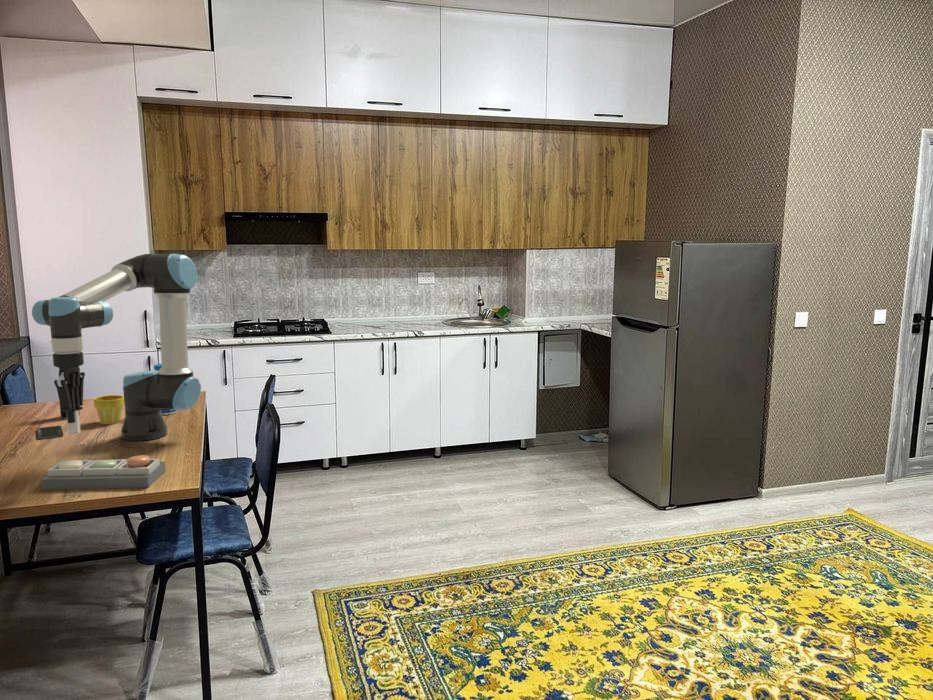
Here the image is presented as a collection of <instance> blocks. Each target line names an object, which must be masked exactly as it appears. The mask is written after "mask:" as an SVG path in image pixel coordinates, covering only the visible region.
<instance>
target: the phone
mask: <svg viewBox="0 0 933 700" xmlns="http://www.w3.org/2000/svg"><path fill="white" fill-rule="evenodd" d="M36 432H37V433H36V434H37V440H41V441H42V440H49V439H55V438H56V439H57V437H58V438H62V437H64V432H63V427H62V425H52V426H45V427H38V428H37V429H36Z"/></svg>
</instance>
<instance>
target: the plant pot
mask: <svg viewBox="0 0 933 700" xmlns="http://www.w3.org/2000/svg"><path fill="white" fill-rule="evenodd" d="M93 406H94V408H95V409H96V412H97V415H98V419H99V421H100V424H101V425H115V424H118V423H120V422H121V418H122V417H121V416H122V411H123V406H125V404H124V395H120V394H108V395H107V394H106V395H100V396H96V397H94V399H93Z"/></svg>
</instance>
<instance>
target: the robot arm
mask: <svg viewBox="0 0 933 700" xmlns="http://www.w3.org/2000/svg"><path fill="white" fill-rule="evenodd" d="M197 281H198V271H197V268H196V265H195V263H194V261H192V259H191V258H190V257H188V256H187V255H185V254H181V253H180V254H179V253H144V254H139V255H136V256H134V257H131V258H129V259H125V260H124V261H122V262H120V263H117V264H115V265H114V266H113V267H112V268H111V270H110V271H109V272H106V273H104V274H103V275H100V276H98V277H96V278H94V279H92V280H90V281H88V282H87V283H84V284H82V285H80V286H78V287H76V288H74V289H72V290H70V291H68V292H66V293H64V294H61V295H60V296H58V297H57V296H56V297H52V298H50V299H44V300H38V301H37V302H35V303H34V304H33V306H32V309H31V315H32V318H33V319H32V320H34V321H35V323H37V324H38V325H41V326H48V327H50V337H51V340H50V344H51V348H52V352H54V353H53V354H52V363H53V367H56V368H58V369H59V370H58V379H54V380H53V383H54V386H55V387H56V392H57V396H58V400H59V401H58V402H59V406H60V405H61V410H62V412H67V419H66V421H67V423H66V424H67V434H68V435H71V434H79V433H81V422H80V421H81V420H80V416H79V410H80V411H81V410H83V409H84V407H83V406H84V405H83V402H84V381H85V375H86V373H85V372H84V371H83V372H82V371H81V369H80V366H83V365H84V364H85V363H84V352H83V351H82V350H83V349H84V345H83V338H82V337H83V335H82V330H83V329H87V328H97V327H99V328H100V327H103V326H105V325H108V324H110V323H111V321H113V318H114V310H113V308H112V306H111V304H109V302H107V301H108V300H110V299H111V298H114V297H115V296H118V295H119V294H121V293H123V292H131V291H133V290H135V289H139V288H140V289H142V288H153V294H154V295H155V296H156V297H157V298H158V308H159V309H158V312H159V332H160V333H159V334H160V335H159V336H160V356H161V357H160V358H161V363H162V367H161V369H160V370H159V371H157V370H154V369H152V370H144V371H138V372H133V373H128V374H126V375H125V376H123V380H122V383H123V384H122V389H123V390H122V392H123V396H124V416H125V417H124V421H123V423H122V426H121V427H122V428H121V429H120V430H121V431H120V435H121V439H122V440H123V441H129V442H140V441H141V442H143V441H151V440H156V439H160V438H163V437H165V436H167V435H168V433H169V432H168V426H167V423H166V420H165V418H164V417H163V416H164V415H162V414H161V409H175V410H177V411H180V410H181V411H187V410H190V409H192V408H193V407H194V406H195V405H196V404H197V402H198V401H199V399H200V396H201V391H202V384H201V382H200V380H199V379H198V378H197V377H196V376H194V370H193V369H192V368H191V367H190V366H189V354H188V353H189V352H188V325H187V323H188V322H187V319H188V318H187V297H188V296H190V294H191V289H192V288H194V287H195V286H196V284H197Z"/></svg>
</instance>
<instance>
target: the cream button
mask: <svg viewBox="0 0 933 700" xmlns="http://www.w3.org/2000/svg"><path fill="white" fill-rule="evenodd" d="M80 460H81V459H79V460H78V459H74V460H73V459H72V461H66V460H65V461H66V462H62V463H60V464H59V469H78V468H80V467H81V466H83V462H82V461H80Z"/></svg>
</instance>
